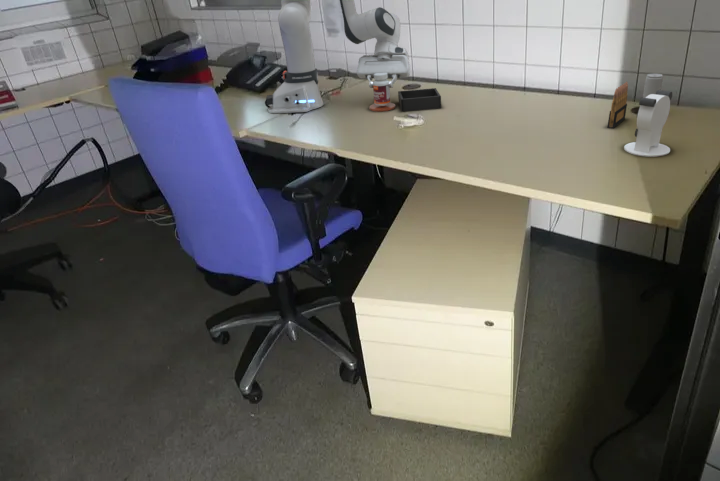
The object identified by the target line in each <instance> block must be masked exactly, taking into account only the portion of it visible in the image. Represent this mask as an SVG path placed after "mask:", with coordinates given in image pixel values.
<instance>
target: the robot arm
mask: <svg viewBox="0 0 720 481" xmlns="http://www.w3.org/2000/svg"><path fill="white" fill-rule="evenodd" d="M280 3H281V4H280V5H281V8H280V10H279V11H278V15H277V21H278V27H279V32H280V36H281V41H282V45H283V49H284V55H285V56H284V57H285V62H286V63H285V64H286V69H287V70H283V72H282V79H283V82H282V83H281V84H280V85H279V86H278V87H277V89H275V90H274V92H273V94H267V95H266V98H265V100H264V105H265V106H266V108H267V112H268V113H270V114H289V113H290V114H291V113H307V112H310V111H313V110H315V109H320V108H321V107H323V106H324V105H325V103H324V101H323V100H324V99H323V98H322V95H321V91H320V86H319V73H318V69H317V68H316V67H317V66H316V61H315V60H316V59H315V51H314V45H313V40H312V34H311V29H310V28H311V26H310V23H311V20H312V7H311V0H280ZM339 4H340V9H341V14H342V18H343V29H344V35H345V37H346V38H347V39H348V41H350V42H351V43H353V44H354V45H360V44H362V43H364V42H366V41H368V40H371V39H375V40H376V43H375V46H374V52H373V54H368V55H367V54H363V55H362V56H360V57H359V58H358V64H357V68H356V75H357V77H358V78H359V79H361V80H362V79H366V80H367V81H368V88H370V89H373V82H374V81H373V79H374V74H375V73H387V74H388V78H387V79H391V80H388V81H389V84H388V87H389V88H390V89H391V88H392V89H393V88H394V84H395V83H396V82H397V81H398V79H407V78H409V77H410V75H411V64H410V57H409V53H408V50H407V49H406V48H404V47H401V46H399V43H400V39H401V21H400V20H401V19H400V18H399V16H398V15H397V14H395V13H394V12H393V13H392V12H389V11H388V10H387V9H385V8H383V7H382V6H381V7H379V6H378V7H375V8H372V9H369V10H367V11H365V12H362V13H358V12H357V8H356V4H355V0H339Z"/></svg>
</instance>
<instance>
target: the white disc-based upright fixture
mask: <svg viewBox="0 0 720 481" xmlns="http://www.w3.org/2000/svg"><path fill="white" fill-rule="evenodd" d="M672 98H673V91H671V90H670V91H669V90H662V89H661V90H657V92H656V94H650V95H648V96H647V97H646V98H643V96H642V97H640V99H639V103H638V105H639V108H638V110H637V113H636V128H635V131H634V137H635V141H632V142H629V143H626V144H625V145H624V146H623V149H624V151H625V152H627V153H629V154H631V155H634V156H639V157H649V158H650V157H651V158H654V157H657V158H658V157H663V156H667V155H668V154H670V152H671V148H670V146H668V145H666V144H663V143H661V142H660V141H661V136H662V133H663V128H664V126H665V125H666V122H667V120H668V118H669V114H670V110H671V100H672Z"/></svg>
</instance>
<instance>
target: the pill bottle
mask: <svg viewBox="0 0 720 481" xmlns="http://www.w3.org/2000/svg"><path fill="white" fill-rule="evenodd" d="M388 79H389V78H388V74H387V73H375V74H374V78H373V81H372V82H373V88H372V91H373V104H375V105H377V106H385V105H388V104H390V103H391V91H390V89H391V88H389V87H388V84H389V81H390V80H388Z"/></svg>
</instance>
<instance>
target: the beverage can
mask: <svg viewBox="0 0 720 481" xmlns="http://www.w3.org/2000/svg"><path fill="white" fill-rule="evenodd" d="M663 76H664V75H663V74H661V73H647V74H646V77H645V81H644V89H643V93H642V97H643V98H646V97H647V96H648V95H650V94H656V92H657V90H662V86H663V80H664V77H663Z"/></svg>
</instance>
